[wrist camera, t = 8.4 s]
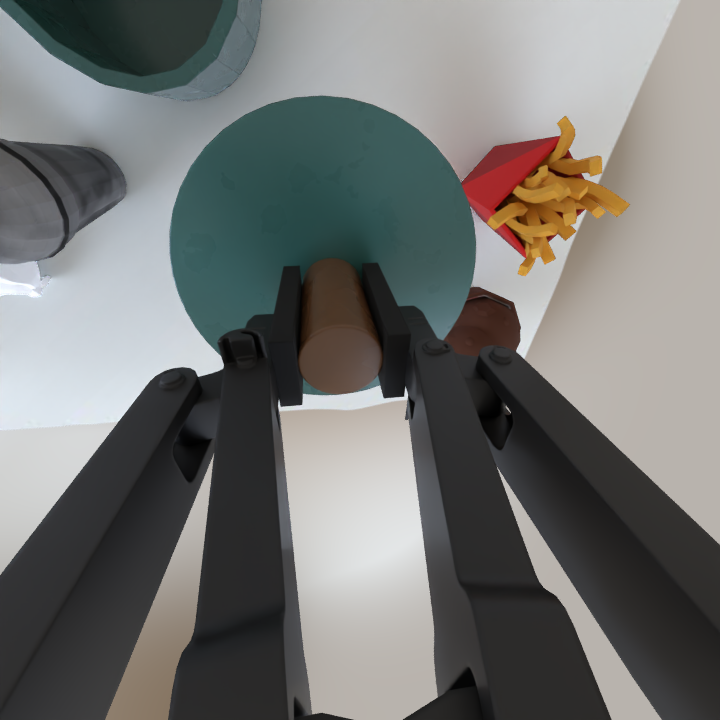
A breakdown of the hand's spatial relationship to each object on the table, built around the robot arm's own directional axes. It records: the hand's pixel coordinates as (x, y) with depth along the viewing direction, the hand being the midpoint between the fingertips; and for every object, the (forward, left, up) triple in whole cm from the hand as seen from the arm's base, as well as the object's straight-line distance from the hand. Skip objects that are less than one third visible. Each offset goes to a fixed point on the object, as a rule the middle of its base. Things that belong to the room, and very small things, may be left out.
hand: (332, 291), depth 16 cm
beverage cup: (-20, +3, -21) cm, 29 cm away
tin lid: (0, 0, -1) cm, 1 cm away
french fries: (+16, +2, -21) cm, 26 cm away
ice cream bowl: (+14, -11, -21) cm, 28 cm away
